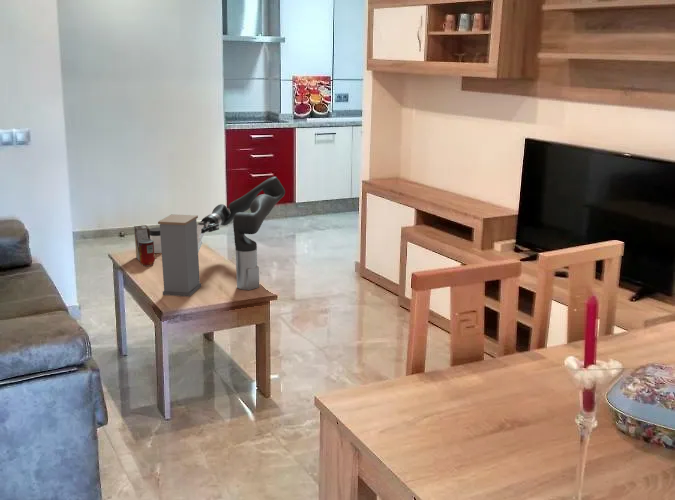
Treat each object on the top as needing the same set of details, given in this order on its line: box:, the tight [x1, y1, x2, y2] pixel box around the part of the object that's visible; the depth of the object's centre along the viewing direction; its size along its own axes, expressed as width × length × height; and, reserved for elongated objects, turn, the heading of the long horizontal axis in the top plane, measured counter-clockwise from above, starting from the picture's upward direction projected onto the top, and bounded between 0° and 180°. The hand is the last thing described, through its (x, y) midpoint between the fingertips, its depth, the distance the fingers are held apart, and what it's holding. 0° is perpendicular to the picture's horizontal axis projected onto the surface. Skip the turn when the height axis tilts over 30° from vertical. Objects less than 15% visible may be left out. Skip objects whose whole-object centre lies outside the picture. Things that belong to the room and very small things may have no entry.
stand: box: [157, 214, 202, 297], centre depth 308 cm, size 14×12×32 cm
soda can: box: [139, 239, 156, 267], centre depth 349 cm, size 7×7×12 cm
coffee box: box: [133, 224, 151, 262], centre depth 358 cm, size 9×6×16 cm
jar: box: [149, 226, 162, 253], centre depth 371 cm, size 9×8×12 cm
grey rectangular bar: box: [197, 222, 206, 253], centre depth 326 cm, size 19×5×3 cm
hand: (198, 231), depth 327 cm, fingers closed on grey rectangular bar, 3 cm apart
